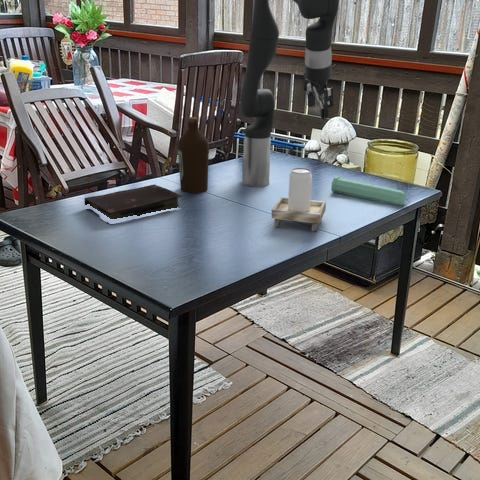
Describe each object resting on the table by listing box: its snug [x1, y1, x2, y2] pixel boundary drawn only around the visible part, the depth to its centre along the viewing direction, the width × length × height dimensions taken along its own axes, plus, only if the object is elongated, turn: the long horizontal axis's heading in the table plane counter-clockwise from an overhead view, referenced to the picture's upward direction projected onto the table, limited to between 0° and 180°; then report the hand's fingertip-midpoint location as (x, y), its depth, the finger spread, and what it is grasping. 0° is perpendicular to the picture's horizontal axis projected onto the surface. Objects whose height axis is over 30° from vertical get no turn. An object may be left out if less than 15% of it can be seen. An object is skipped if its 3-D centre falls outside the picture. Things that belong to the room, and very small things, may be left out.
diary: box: [84, 184, 183, 219], centre depth 186 cm, size 19×25×5 cm
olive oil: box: [177, 116, 210, 194], centre depth 202 cm, size 11×11×25 cm
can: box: [287, 167, 313, 212], centre depth 173 cm, size 6×6×12 cm
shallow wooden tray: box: [271, 196, 327, 232], centre depth 176 cm, size 14×12×6 cm
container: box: [330, 175, 406, 206], centre depth 200 cm, size 6×6×25 cm
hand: (317, 112), depth 180 cm, fingers open, 8 cm apart
